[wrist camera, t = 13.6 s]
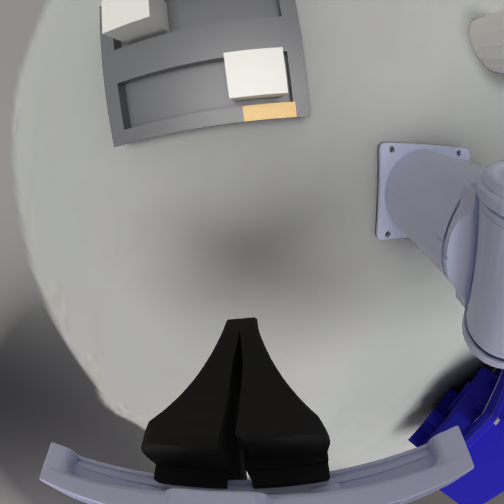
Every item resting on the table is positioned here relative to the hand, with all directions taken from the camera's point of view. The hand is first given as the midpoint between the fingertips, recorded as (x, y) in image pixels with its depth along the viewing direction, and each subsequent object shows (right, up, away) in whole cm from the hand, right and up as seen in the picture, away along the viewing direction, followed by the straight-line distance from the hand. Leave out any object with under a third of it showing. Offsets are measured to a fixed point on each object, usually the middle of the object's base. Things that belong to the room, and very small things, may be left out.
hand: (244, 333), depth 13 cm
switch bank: (-3, +18, +2) cm, 18 cm away
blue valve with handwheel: (+42, -18, +21) cm, 51 cm away
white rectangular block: (-7, +19, 0) cm, 21 cm away
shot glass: (+22, +23, -1) cm, 32 cm away
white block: (+1, +15, +2) cm, 15 cm away
